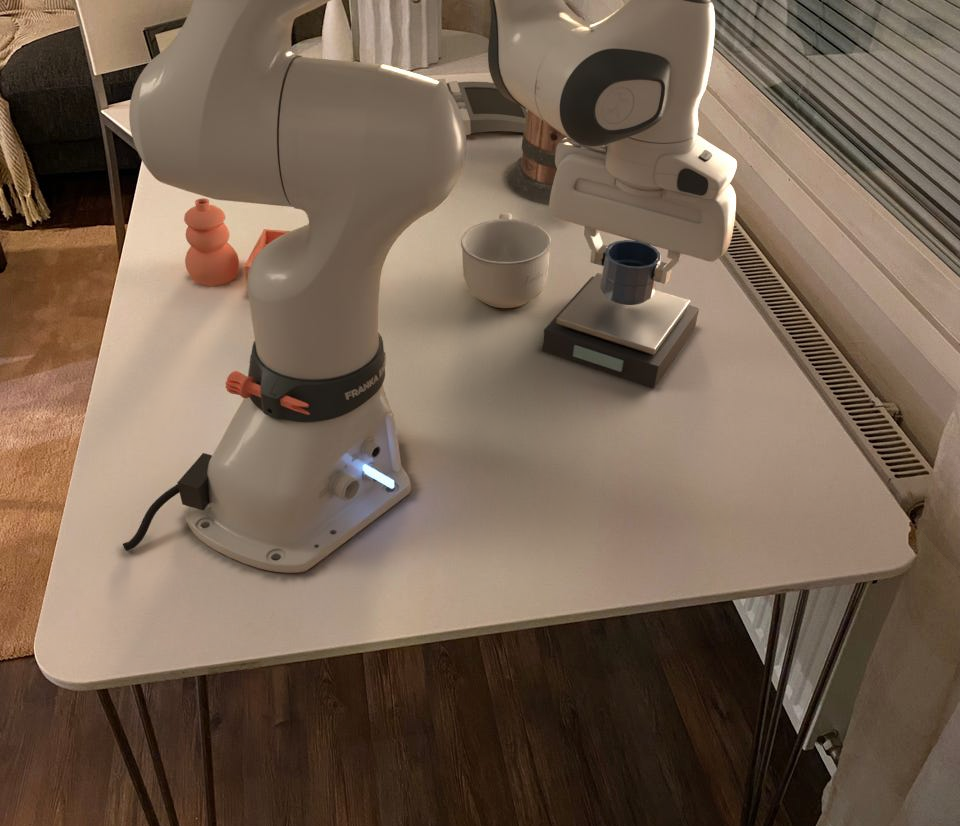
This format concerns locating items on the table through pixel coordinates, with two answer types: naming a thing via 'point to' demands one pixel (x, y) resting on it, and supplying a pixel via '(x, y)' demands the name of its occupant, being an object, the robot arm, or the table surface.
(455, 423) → the table surface
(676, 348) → the scale
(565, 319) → the scale pan
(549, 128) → the tankard
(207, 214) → the pottery
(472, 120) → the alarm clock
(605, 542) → the table surface
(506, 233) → the teacup
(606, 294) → the cup
